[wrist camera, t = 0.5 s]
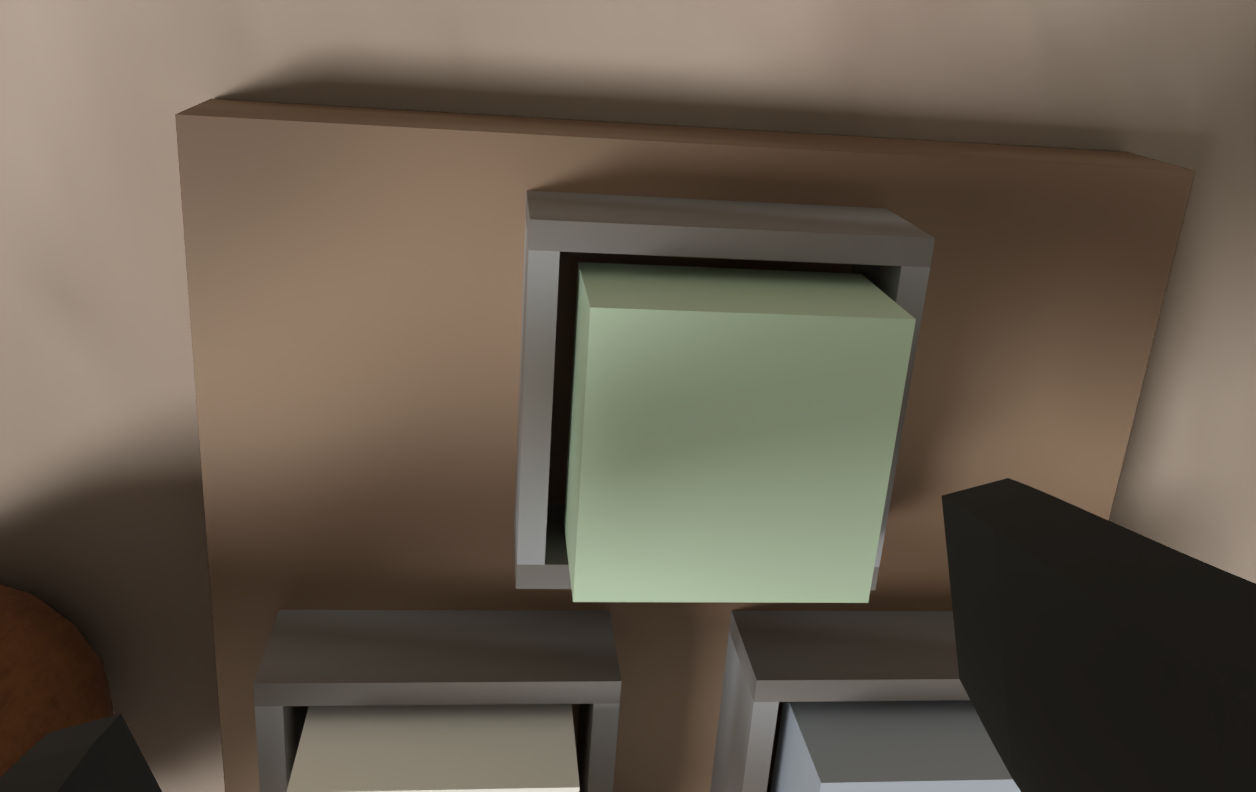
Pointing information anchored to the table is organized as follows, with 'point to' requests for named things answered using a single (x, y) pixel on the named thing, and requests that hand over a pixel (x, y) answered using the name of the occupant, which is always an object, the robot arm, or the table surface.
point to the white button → (437, 749)
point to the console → (541, 395)
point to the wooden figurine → (43, 675)
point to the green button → (730, 433)
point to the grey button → (886, 748)
